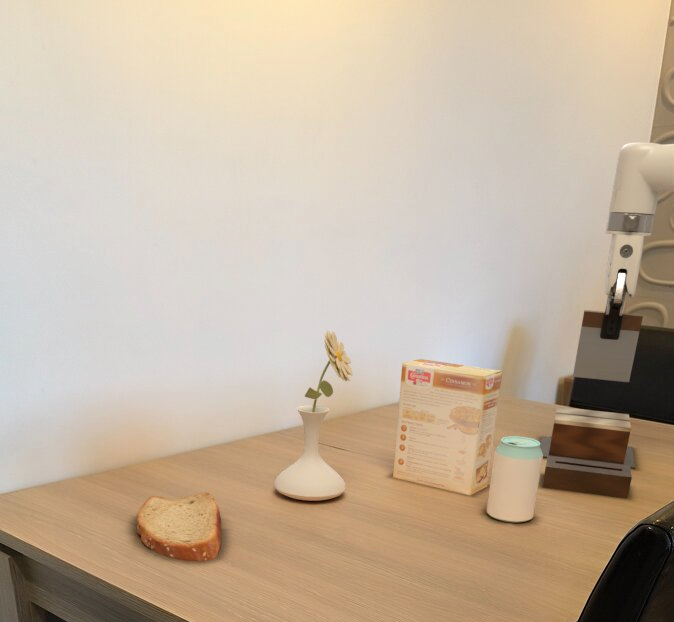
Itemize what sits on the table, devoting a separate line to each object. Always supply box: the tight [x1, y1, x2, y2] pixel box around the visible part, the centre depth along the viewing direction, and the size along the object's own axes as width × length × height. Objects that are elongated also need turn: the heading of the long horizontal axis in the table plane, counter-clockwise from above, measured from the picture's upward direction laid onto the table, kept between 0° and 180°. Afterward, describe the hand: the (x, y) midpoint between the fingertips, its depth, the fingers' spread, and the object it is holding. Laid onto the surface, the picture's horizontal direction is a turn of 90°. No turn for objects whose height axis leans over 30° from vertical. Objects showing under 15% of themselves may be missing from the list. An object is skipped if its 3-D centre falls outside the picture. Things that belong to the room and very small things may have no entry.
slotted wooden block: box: [541, 455, 633, 500], centre depth 142 cm, size 14×7×4 cm, turn 74°
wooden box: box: [540, 406, 636, 470], centre depth 162 cm, size 18×16×7 cm
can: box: [486, 435, 544, 524], centre depth 124 cm, size 7×7×12 cm
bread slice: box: [136, 491, 222, 563], centre depth 114 cm, size 18×18×4 cm
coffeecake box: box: [392, 358, 503, 496], centre depth 137 cm, size 15×7×20 cm, turn 56°
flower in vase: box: [273, 330, 353, 502], centre depth 127 cm, size 13×11×25 cm
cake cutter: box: [572, 309, 644, 383], centre depth 149 cm, size 10×2×12 cm, turn 75°
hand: (608, 337), depth 148 cm, fingers closed on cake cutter, 2 cm apart
